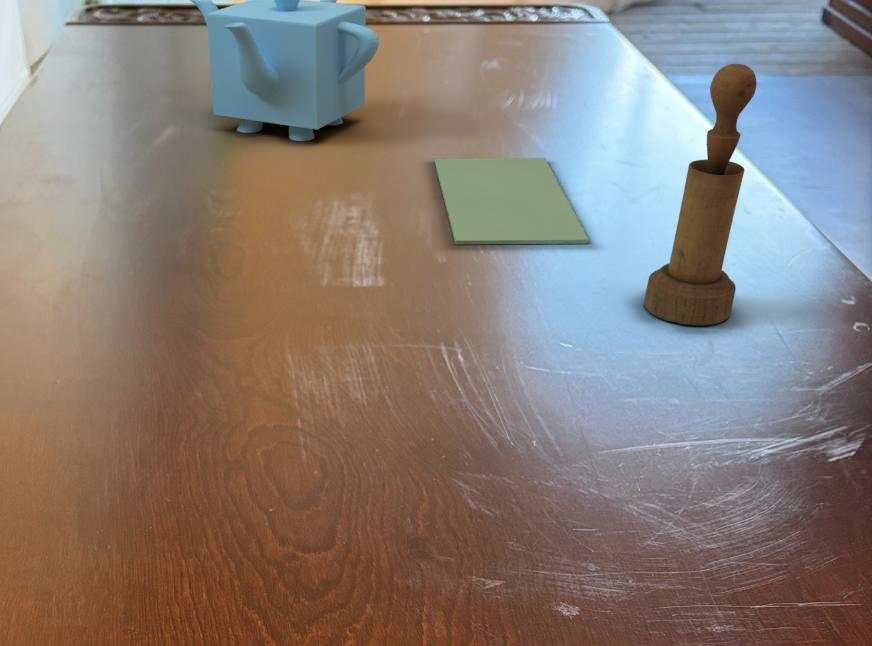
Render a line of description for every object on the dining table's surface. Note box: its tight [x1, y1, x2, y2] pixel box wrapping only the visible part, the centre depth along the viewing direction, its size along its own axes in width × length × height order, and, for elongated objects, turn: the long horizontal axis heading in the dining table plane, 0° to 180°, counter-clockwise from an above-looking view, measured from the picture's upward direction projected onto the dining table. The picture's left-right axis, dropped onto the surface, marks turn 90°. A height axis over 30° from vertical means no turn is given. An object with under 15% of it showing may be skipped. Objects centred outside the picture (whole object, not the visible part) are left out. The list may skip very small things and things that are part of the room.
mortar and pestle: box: [643, 63, 758, 326], centre depth 77 cm, size 7×6×18 cm
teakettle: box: [189, 0, 380, 142], centre depth 120 cm, size 19×19×15 cm
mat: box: [433, 157, 590, 246], centre depth 103 cm, size 12×24×1 cm, turn 0°
